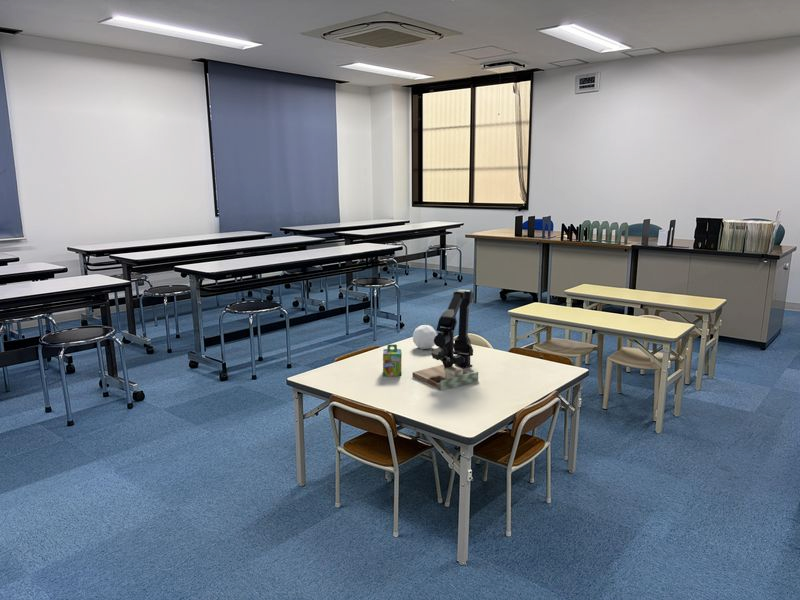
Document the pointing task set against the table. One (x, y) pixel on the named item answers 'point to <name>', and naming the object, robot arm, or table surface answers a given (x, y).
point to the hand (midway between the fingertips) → (447, 372)
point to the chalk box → (392, 361)
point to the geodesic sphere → (424, 336)
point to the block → (453, 372)
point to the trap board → (438, 380)
